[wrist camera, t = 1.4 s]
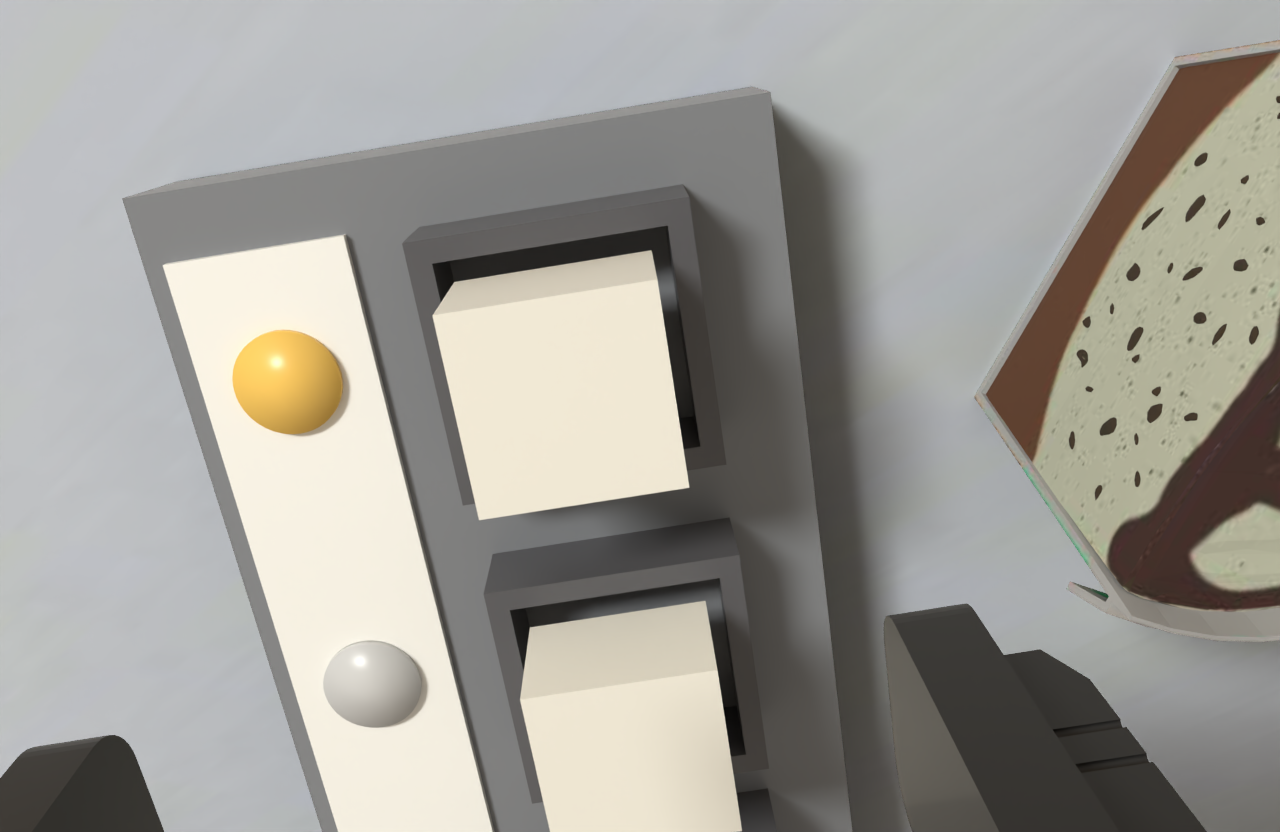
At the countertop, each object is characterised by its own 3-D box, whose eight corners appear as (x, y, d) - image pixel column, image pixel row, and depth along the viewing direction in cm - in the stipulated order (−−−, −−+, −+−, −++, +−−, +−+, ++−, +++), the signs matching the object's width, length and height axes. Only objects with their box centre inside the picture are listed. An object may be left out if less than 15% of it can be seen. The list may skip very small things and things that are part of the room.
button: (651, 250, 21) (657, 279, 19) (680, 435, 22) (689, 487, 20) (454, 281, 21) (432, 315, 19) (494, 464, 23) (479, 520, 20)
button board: (752, 86, 25) (785, 95, 20) (847, 907, 33) (887, 1049, 29) (176, 181, 26) (78, 212, 21) (410, 970, 34) (378, 1120, 29)
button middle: (705, 600, 24) (717, 670, 21) (728, 748, 25) (741, 831, 22) (529, 627, 24) (519, 699, 21) (561, 773, 25) (556, 858, 23)
